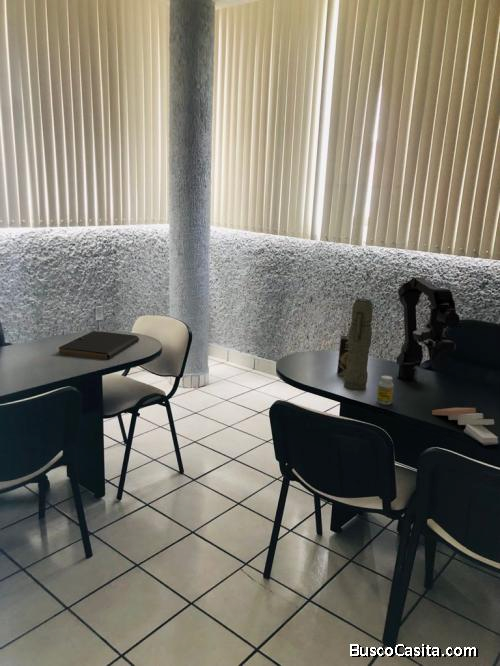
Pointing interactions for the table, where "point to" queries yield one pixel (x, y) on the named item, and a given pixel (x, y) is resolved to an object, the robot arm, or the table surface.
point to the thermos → (359, 345)
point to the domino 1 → (453, 411)
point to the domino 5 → (477, 439)
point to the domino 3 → (476, 422)
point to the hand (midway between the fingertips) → (431, 361)
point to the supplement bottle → (385, 390)
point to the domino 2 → (466, 416)
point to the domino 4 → (481, 433)
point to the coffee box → (343, 356)
